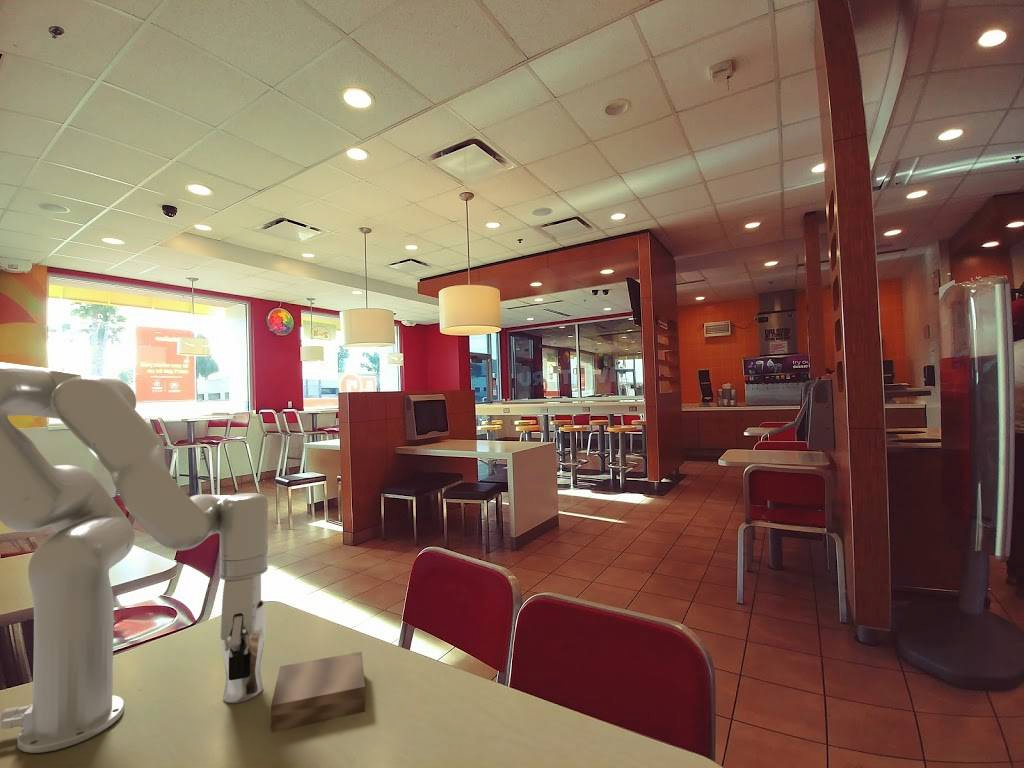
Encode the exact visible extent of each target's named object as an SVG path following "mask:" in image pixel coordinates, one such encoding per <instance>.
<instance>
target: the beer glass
mask: <svg viewBox="0 0 1024 768" xmlns="http://www.w3.org/2000/svg"><path fill="white" fill-rule="evenodd" d="M265 607H266V606H265V601H264V600H262V599H261V601H260V607H259V608H257V613H256V621H255V627H254V632H253V634H252V635H250V637H249V652H251V673H250V676H249V677H247V678H241V679H236V680H229V651H230V638H231V632H230V635H229V637H228V639H226V640H224V641H223V640H222V639H221V638H220V644H221V653H222V658H223V662H224V663H223V664H224V668H225V677H226V678H225V686H224V690H223V697H222V698H223V700H224V702H225V703H227V704H239V703H240V704H241V703H245V702H247V701H249V700H252V699H253V698H255V697H257V696H258V695H259V694H260V693H261V692H262V691H263V689H264V687H263V680H262V675H261V663H262V657H263V652H264V647H265V642H266V641H265V639H266V630H267V628H266V626H267V620H266V609H265ZM246 632H247V630H246V629H243V630H242V633H241V635H245V634H246ZM241 643H243V644H244V646H245V638H244V639H241Z"/></svg>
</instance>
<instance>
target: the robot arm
mask: <svg viewBox="0 0 1024 768" xmlns="http://www.w3.org/2000/svg"><path fill="white" fill-rule="evenodd" d="M136 397H137V396H136V394H135V392H134V390H133V389H132V388H131V387H130V386H129V384H127V383H125V381H123V380H120V379H117V378H113V377H110V376H109V377H108V376H101V375H100V376H99V375H89V374H83V373H76V372H70V371H62V370H57V369H50V368H45V367H40V366H34V365H33V366H32V365H23V364H16V363H9V362H1V361H0V522H1V523H2V524H3V525H4V526H5V527H6V528H9V529H10V530H12V531H16V532H19V533H21V532H22V533H27V532H28V533H30V532H35V531H39V530H43V529H47V528H49V527H51V528H52V529H53V531H54V533H53V534H51V535H49V536H48V537H47V538H46V539H45V540H43V541H42V542H41V543H40V544H39V545H38V546H37V548H36V549H35V550H34V551H33V553H32V555H31V557H30V559H29V562H28V569H27V577H28V583H29V588H30V591H31V592H30V593H31V598H32V604H33V662H32V663H33V664H32V665H33V667H32V669H33V673H32V702H31V703H30V704H29V705H25V706H14V707H9V708H5V709H4V710H3V711H2V713H1V715H0V723H1V725H0V730H2V731H3V730H4V731H5V730H8V729H9V730H10V729H13V728H16V727H20V728H22V729H21V730H20V732H19V733H18V736H17V738H16V739H17V741H16V742H17V745H16V746H17V748H18V749H19V750H20V751H21V752H24V753H29V754H33V753H34V754H38V753H47V752H53V751H57V750H61V749H65V748H68V747H72V746H73V745H74V746H75V745H77V744H79V743H81V742H83V741H86V740H89V739H90V738H92V737H94V736H96V735H99V734H100V733H102V732H103V731H105V730H106V729H107V728H110V727H111V726H112V725H114V723H115V722H116V721H118V720H119V719H120V717H121V716H122V715H123V713H124V711H125V701H124V698H122V697H120V696H118V695H116V694H115V695H113V685H114V684H113V678H114V677H113V675H114V673H113V672H114V612H115V611H114V609H115V608H114V607H115V606H114V605H115V604H114V593H113V588H112V584H111V581H110V569H112V567H115V566H116V565H118V563H120V562H121V561H122V560H124V558H126V557H127V555H129V554H130V552H131V550H132V549H133V547H134V544H135V539H136V535H135V530H134V527H133V525H132V523H131V521H130V520H129V518H128V517H127V516H126V514H125V513H124V512H123V510H122V509H121V507H120V506H119V505H118V503H117V502H116V501H115V500H114V498H113V497H112V496H111V495H110V493H109V492H108V491H107V489H106V488H105V487H104V485H103V484H102V483H101V481H100V480H99V479H98V478H97V477H95V475H94V474H92V473H91V472H89V471H88V470H86V469H84V468H83V467H80V466H76V465H71V464H59V465H58V464H57V465H52V464H51V463H50V462H49V461H48V460H47V459H46V458H45V456H44V455H43V454H42V453H41V452H40V451H39V449H38V448H37V445H36V444H35V443H34V442H33V441H32V440H31V439H30V438H29V436H27V435H26V434H25V433H24V432H22V431H21V430H20V429H18V427H16V426H15V425H14V424H13V423H12V422H11V421H10V419H9V418H8V417H10V416H11V417H12V416H13V417H14V416H29V417H30V416H32V417H39V418H41V417H43V418H49V419H57V420H58V419H59V420H60V421H61V422H62V423H63V424H64V425H65V427H67V429H69V431H70V432H71V433H72V434H73V435H74V436H75V437H76V438H77V439H79V441H80V443H82V445H84V446H85V447H86V448H87V450H88V451H90V453H91V454H92V455H94V457H95V458H96V459H97V460H98V461H99V462H100V463H101V465H102V466H103V467H104V468H105V469H106V470H107V471H108V473H109V474H110V476H111V479H112V482H113V485H114V487H115V489H116V491H117V494H118V495H119V497H120V499H121V501H122V503H123V504H124V507H125V509H126V510H127V512H129V513H130V515H131V516H132V518H133V519H134V520H135V521H136V522H137V523H138V524H139V525H140V526H141V527H142V528H143V529H144V530H145V531H146V533H148V535H149V536H151V538H153V540H154V541H156V542H157V543H159V544H160V545H161V546H163V547H165V548H167V549H168V550H173V551H179V552H180V551H187V550H191V549H194V548H196V547H197V546H199V545H201V544H202V543H204V541H205V540H206V539H208V538H209V537H210V536H212V535H215V534H219V579H220V580H223V581H224V582H223V583H224V584H223V591H222V601H221V603H222V604H221V620H220V621H221V623H220V640H221V639H222V640H223V641H224V640H226V639H228V637H229V635H230V632H231V638H230V651H229V680H236V679H241V678H247V677H249V676H250V673H251V652H249V637H250V635H252V634H253V632H254V627H255V621H256V613H257V608H259V607H260V601H261V600H262V575H263V574H264V573H266V572H267V571H268V568H269V567H268V565H269V563H268V562H269V557H268V554H269V553H268V551H269V550H268V545H269V544H268V536H269V535H268V533H269V530H268V527H269V523H268V522H269V519H268V518H269V515H268V514H269V511H268V510H269V509H268V507H269V504H268V498H267V497H266V495H265V494H263V493H259V492H244V493H237V494H233V495H229V494H228V495H227V494H226V495H220V494H208V493H206V494H202V493H201V494H194V495H192V496H189V495H187V493H186V492H185V491H184V490H183V488H181V486H180V485H179V484H178V483H177V482H176V480H175V479H174V477H173V476H172V474H171V472H170V469H169V468H168V465H167V462H166V458H165V457H166V456H165V455H166V454H165V453H166V449H165V447H166V446H165V444H164V443H165V442H164V441H163V439H162V438H161V436H160V435H159V434H157V433H156V431H155V430H154V429H153V428H152V426H150V425H149V424H148V422H146V420H145V419H144V418H143V417H142V416H141V415H140V413H139V412H138V411H137V410H135V409H136V406H137V398H136ZM243 629H246V630H247V632H246V634H245V635H241V633H242V630H243ZM244 638H245V646H244V644H243V643H241V639H244Z"/></svg>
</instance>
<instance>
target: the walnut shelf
mask: <svg viewBox="0 0 1024 768" xmlns="http://www.w3.org/2000/svg"><path fill="white" fill-rule="evenodd" d="M363 659H364V658H363V652H362V651H359V652H358V651H357V652H354V653H353V652H352V653H347V654H341V655H336V656H330V657H325V658H319V659H313V660H308V661H302V662H297V663H293V664H292V663H291V664H287V665H286V664H285V665H281V666H279V669H278V674H277V679H276V683H275V687H274V690H273V696H272V701H271V703H270V732H271V733H273V732H277V731H283V730H287V729H291V728H295V727H300V726H304V725H310V724H314V723H318V722H323V721H326V720H331V719H336V718H341V717H345V716H349V715H354V714H359V713H364V712H366V684H365V682H366V681H365V672H364V662H363Z"/></svg>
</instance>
